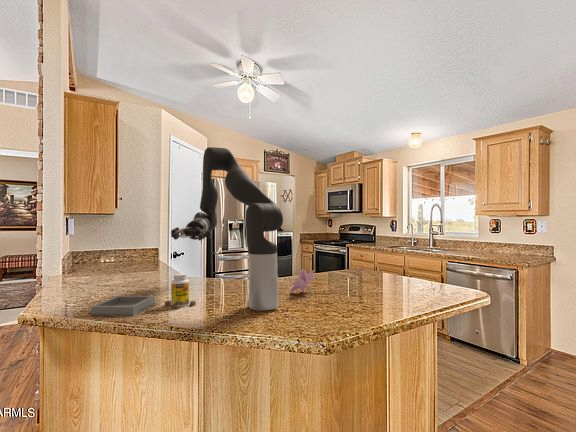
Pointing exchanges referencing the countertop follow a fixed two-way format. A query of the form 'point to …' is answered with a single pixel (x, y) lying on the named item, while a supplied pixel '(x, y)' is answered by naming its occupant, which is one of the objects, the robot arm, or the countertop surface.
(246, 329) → the countertop surface
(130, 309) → the tray
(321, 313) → the countertop surface
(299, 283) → the lily
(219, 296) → the countertop surface
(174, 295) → the supplement bottle
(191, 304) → the set of brown cubes
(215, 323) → the countertop surface
